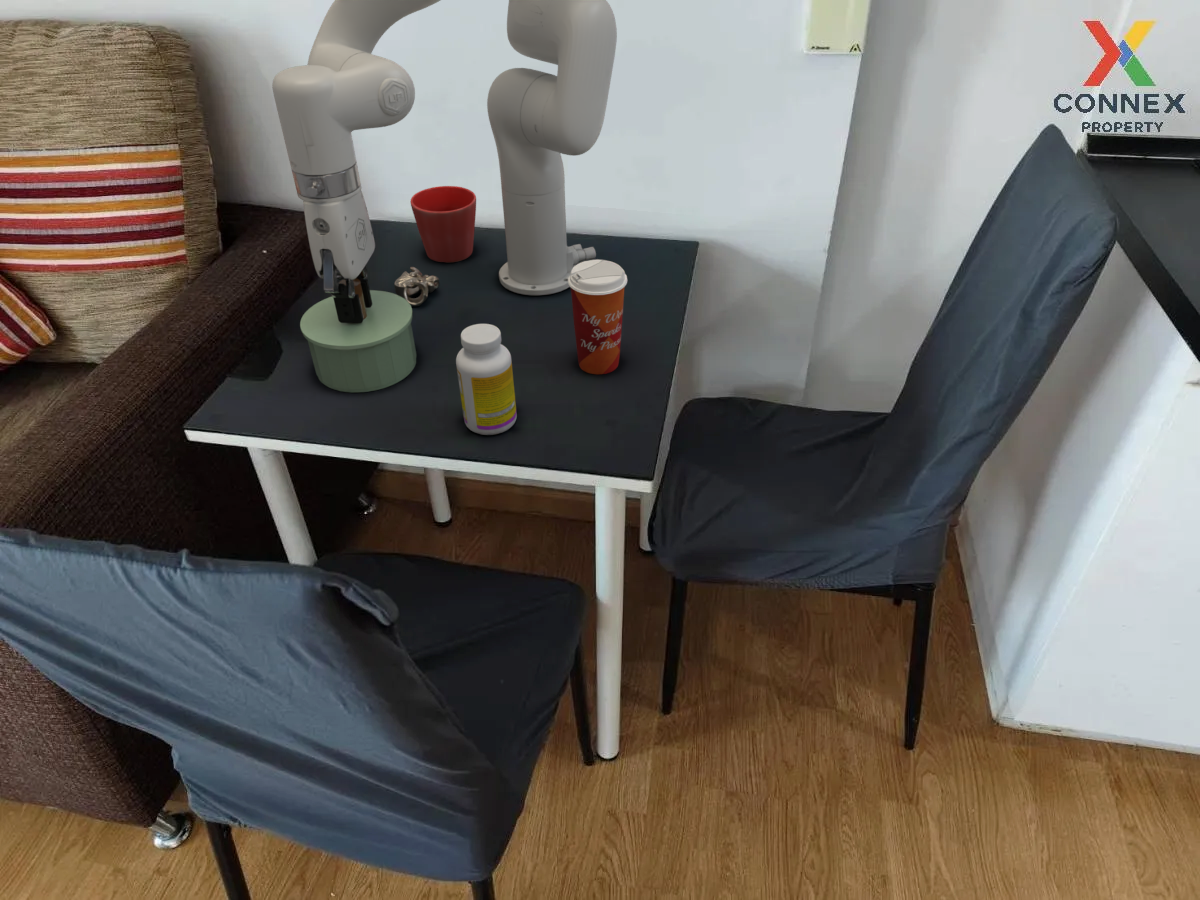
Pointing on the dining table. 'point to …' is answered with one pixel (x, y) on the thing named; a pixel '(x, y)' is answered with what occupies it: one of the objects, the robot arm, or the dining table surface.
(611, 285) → the paper cup
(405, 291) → the ornament
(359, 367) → the pot
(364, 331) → the pot lid
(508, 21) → the robot arm
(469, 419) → the supplement bottle
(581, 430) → the dining table surface
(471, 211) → the flower pot
